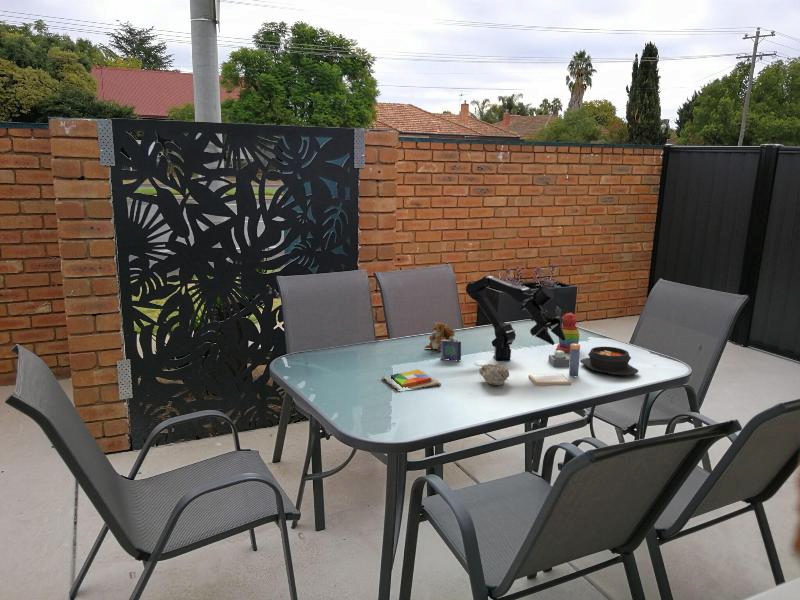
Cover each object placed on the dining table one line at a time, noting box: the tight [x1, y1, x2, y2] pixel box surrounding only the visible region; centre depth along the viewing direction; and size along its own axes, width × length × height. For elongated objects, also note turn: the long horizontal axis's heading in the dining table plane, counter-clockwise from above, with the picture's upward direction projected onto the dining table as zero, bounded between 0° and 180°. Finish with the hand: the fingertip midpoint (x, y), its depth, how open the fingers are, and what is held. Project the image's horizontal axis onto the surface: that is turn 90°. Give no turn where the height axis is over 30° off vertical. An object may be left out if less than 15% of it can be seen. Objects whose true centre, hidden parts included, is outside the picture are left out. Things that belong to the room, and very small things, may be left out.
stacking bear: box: [555, 311, 580, 354], centre depth 280 cm, size 11×10×18 cm
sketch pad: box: [528, 373, 572, 386], centre depth 238 cm, size 14×10×1 cm
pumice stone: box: [478, 363, 510, 386], centre depth 233 cm, size 14×12×8 cm
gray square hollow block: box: [547, 354, 570, 367], centre depth 260 cm, size 7×7×3 cm
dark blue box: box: [440, 336, 462, 362], centre depth 265 cm, size 9×3×11 cm, turn 71°
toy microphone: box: [568, 343, 581, 378], centre depth 243 cm, size 4×4×13 cm
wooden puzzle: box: [381, 368, 442, 391], centre depth 236 cm, size 18×19×4 cm
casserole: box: [579, 346, 639, 376], centre depth 251 cm, size 25×19×8 cm
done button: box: [553, 349, 565, 359], centre depth 259 cm, size 4×4×4 cm
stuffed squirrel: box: [424, 321, 456, 352], centre depth 283 cm, size 10×14×13 cm
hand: (559, 342), depth 247 cm, fingers open, 9 cm apart
